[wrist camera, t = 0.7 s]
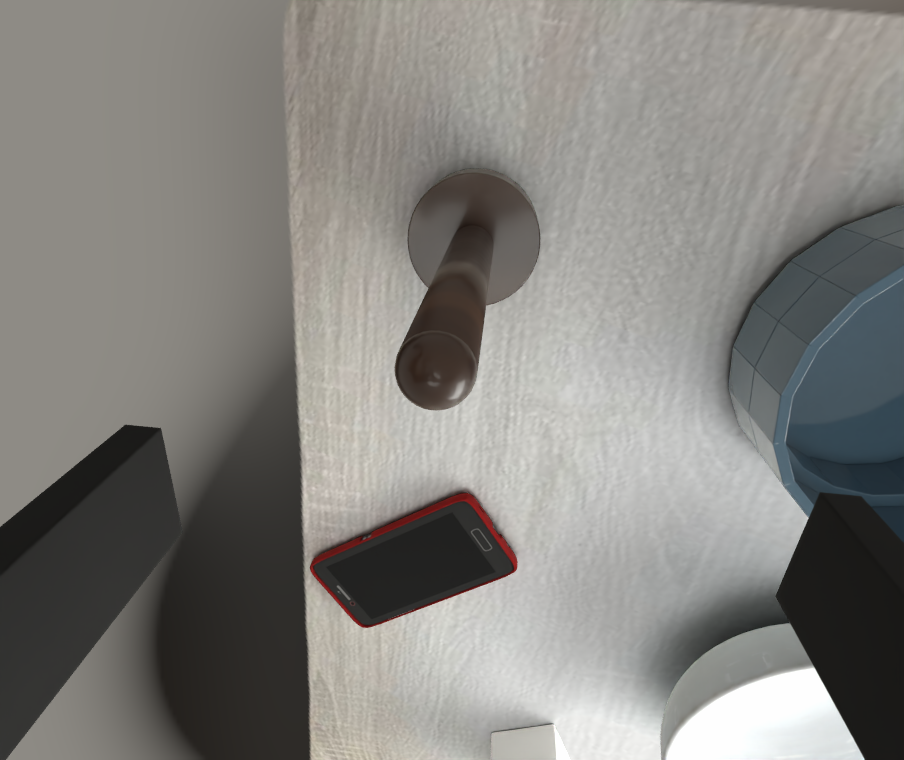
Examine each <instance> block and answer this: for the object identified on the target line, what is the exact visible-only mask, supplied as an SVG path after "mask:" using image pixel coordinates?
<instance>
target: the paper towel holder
mask: <svg viewBox="0 0 904 760" xmlns="http://www.w3.org/2000/svg"><path fill="white" fill-rule="evenodd" d="M408 249H409V254H410V258H411V261H412V264H413V267H414V269H415V271H416V273H417V274H418V276H419V277H420V279H421V280H422V281H423V283H424V284H425V285H426V286H427V287H428V291H427V293H426V295H425V297H424V299H423V301H422V303H421V305H420V307H419V310H418V312H417V314H416V316H415V318H414V320H413V322H412V324H411V326H410V329H409V331H408V333H407V335H406V337H405V339H404V341H403V343H402V345H401V348H400V350H399V352H398V354H397V357H396V363H395V376H396V380H397V384H398V386H399V388H400V390H401V392H402V393H403V394H404V396H405V397H406V398H407V399H408V400H410V401H411V402H412V403H414V404H415V405H417V406H419V407H421V408H424V409H428V410H444V409H448V408H451V407H454V406H455V405H457V404H459V403H460V402H461V401H462V400H464V399H465V398H466V397H467V396H468V394H469V393H470V392H471V390H472V388H473V386H474V384H475V381H476V377H477V371H478V363H479V356H480V348H481V340H482V333H483V325H484V317H485V310H486V305H490V304H494V303H497V302H499V301H501V300H504V299H505V298H507V297H509V296H511V295H512V294H513V293H515V292H516V291H517V290H518V289H519V288H520V287H521V286H522V285H523V284H524V283H525V282H526V280H527V279H528V278H529V276H530V274H531V273H532V271H533V269H534V267H535V264H536V262H537V258H538V255H539V249H540V231H539V225H538V221H537V217H536V213H535V210H534V207H533V205H532V203H531V201H530V199H529V197H528V196H527V194H526V193H525V192H524V190H523V189H522V188H521V187H520V186H519V185H518V184H517V183H516V182H514V181H513V180H512V179H510V178H509V177H507V176H505V175H503V174H501V173H499V172H496V171H493V170H489V169H481V168H472V169H465V170H460V171H457V172H454V173H452V174H450V175H448V176H446V177H445V178H443V179H442V180H440V181H439V182H438V183H437V184H435V185H434V186H433V187H432V188H431V189H430V190H429V191H428V192H427V193H426V194H425V195H424V196H423V197H422V199H421V200H420V201H419V203H418V205H417V206H416V208H415V210H414V212H413V214H412V217H411V221H410V224H409V230H408Z"/></svg>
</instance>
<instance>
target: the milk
mask: <svg viewBox="0 0 904 760" xmlns="http://www.w3.org/2000/svg"><path fill="white" fill-rule="evenodd" d="M491 760H570V758H569V756H568V754H567V752H566V749H565V747H564V745H563V743H562V741H561V738H560V736H559V734H558V732H557V730H556V727H555V725H554V724H551V725H544V726H536V727H529V728H522V729H515V730H508V731H501V732H494V733H492V734H491Z"/></svg>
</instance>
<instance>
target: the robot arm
mask: <svg viewBox="0 0 904 760" xmlns="http://www.w3.org/2000/svg"><path fill="white" fill-rule="evenodd" d="M181 533H182V527H181V522H180V517H179V513H178V508H177V503H176V498H175V493H174V488H173V484H172V479H171V474H170V469H169V465H168V460H167V455H166V450H165V445H164V440H163V436H162V431H161V428H153V427H143V426H133V425H124V426H123V427H122V428H121V429H120V430H118V431H117V432H116V433H115V434H113V435H112V436H111V437H110V438H109V439H107V440H106V441H105V442H104V443H103V444H101V445H100V446H99V447H98V448H96V449H95V450H94V451H93V452H91V453H90V454H89V455H88V456H87V457H85V458H84V459H83V460H82V461H80V462H79V463H78V464H77V465H75V466H74V467H73V468H72V469H71V470H69V471H68V472H67V473H66V474H65V475H63V476H62V477H61V478H60V479H58V480H57V481H56V482H55V483H53V484H52V485H51V486H50V487H49V488H47V489H46V490H45V491H44V492H42V493H41V494H40V495H39V496H38V497H36V498H35V499H34V500H33V501H31V502H30V503H29V504H28V505H27V506H25V507H24V508H23V509H22V510H20V511H19V512H18V513H17V514H16V515H14V516H13V517H12V518H11V519H10V520H8V521H7V522H6V523H5V524H3V525H2V526H1V527H0V760H6V759H7V757H8V756H9V755H10V754H11V752H12V751H13V750H14V748H15V747H16V746H17V745H18V743H19V742H20V741H21V739H22V738H23V737H24V736H25V734H26V733H27V732H28V730H29V729H30V728H31V726H32V725H33V724H34V723H35V721H36V720H37V719H38V718H39V716H40V715H41V714H42V712H43V711H44V710H45V709H46V707H47V706H48V705H49V703H50V702H51V701H52V700H53V698H54V697H55V696H56V694H57V693H58V692H59V691H60V689H61V688H62V687H63V685H64V684H65V683H66V682H67V680H68V679H69V678H70V676H71V675H72V674H73V672H74V671H75V670H76V669H77V667H78V666H79V665H80V663H81V662H82V660H84V658H85V657H86V656H87V654H88V653H89V652H90V651H91V649H92V648H93V647H94V645H95V644H96V643H97V641H98V640H99V639H100V638H101V636H102V635H103V634H104V632H105V631H106V630H107V629H108V627H109V626H110V625H111V623H112V622H113V621H114V620H115V618H116V617H117V616H118V615H119V613H120V612H121V611H122V609H123V608H124V607H125V605H126V604H127V603H128V602H129V600H130V599H131V598H132V596H133V595H134V594H135V593H136V591H137V590H138V589H139V587H140V586H141V585H142V583H143V582H144V581H145V580H146V578H147V577H148V576H149V574H150V573H151V572H152V570H153V569H154V568H155V567H156V565H157V564H158V563H159V562H160V560H161V559H162V558H163V556H164V555H165V554H166V553H167V551H168V550H169V549H170V548H171V546H172V545H173V544H174V542H175V541H176V540H177V538H178V537H179V536H180V535H181ZM775 597H776V599H777V600H778V602H779V604H780V606H781V608H782V609H783V611H784V613H785V615H786V617H787V619H788V620H789V622H790V624H791V626H792V628H793V630H794V631H795V633H796V635H797V637H798V639H799V641H800V642H801V644H802V646H803V648H804V650H805V651H806V653H807V655H808V657H809V659H810V661H811V662H812V664H813V666H814V668H815V670H816V672H817V673H818V675H819V677H820V679H821V681H822V683H823V684H824V686H825V688H826V690H827V692H828V693H829V695H830V697H831V699H832V701H833V703H834V704H835V706H836V708H837V710H838V712H839V714H840V715H841V717H842V719H843V721H844V723H845V725H846V726H847V728H848V730H849V732H850V734H851V735H852V737H853V739H854V741H855V743H856V745H857V746H858V748H859V750H860V752H861V754H862V756H863V757H864V759H865V760H904V542H903V541H902V540H901V539H900V538H899V537H898V536H897V535H896V534H895V533H894V531H893V530H892V529H891V528H890V527H889V526H888V525H887V524H886V523H885V522H884V520H883V519H882V518H881V517H880V516H879V515H878V514H877V513H876V512H875V511H874V510H873V508H872V507H871V506H870V505H869V504H868V503H867V502H866V501H865V500H864V499H863V497H862V496H854V495H844V494H833V493H823V492H820V493H819V495H818V498H817V500H816V502H815V505H814V507H813V509H812V512H811V514H810V516H809V519H808V521H807V523H806V526H805V528H804V530H803V533H802V535H801V537H800V540H799V542H798V544H797V547H796V549H795V551H794V554H793V556H792V558H791V561H790V563H789V565H788V568H787V570H786V572H785V575H784V577H783V579H782V582H781V584H780V586H779V589H778V591H777V593H776V596H775Z"/></svg>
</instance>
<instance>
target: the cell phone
mask: <svg viewBox="0 0 904 760" xmlns="http://www.w3.org/2000/svg"><path fill="white" fill-rule="evenodd" d="M310 570H311V572H312V574H313V575H314V577H315V578H316V579H317V580H318V581H319V583H320V584H321V585H322V586H323V587H324V588H325V589H326V590H327V592H328V593H329V594H330V595H331V596H332V597H333V598H334V599H335V600H336V602H337V603H338V604H339V605H340V606H341V607H342V608H343V609H344V611H345V612H346V613H347V614H348V615H349V616H350V617H351V618H352V620H353V621H354V622H355V623H357V624H358V625H359V626H361V627H364V628H369V627H373V626H376V625H379V624H382V623H384V622H387V621H390V620H392V619H395V618H398V617H400V616H403V615H406V614H408V613H411V612H414V611H416V610H419V609H421V608H424V607H427V606H429V605H432V604H435V603H437V602H440V601H443V600H445V599H448V598H451V597H453V596H456V595H459V594H461V593H464V592H467V591H469V590H472V589H475V588H477V587H480V586H483V585H485V584H488V583H491V582H493V581H496V580H499V579H501V578H504V577H506V576H508V575H510V574H512V573H514V572H515V571H516V570H517V558H516V556H515V554H514V553H513V551H512V549H511V548H510V547H509V546H508V545H507V542H506V541H505V540H504V538H503V537H502V535H498V534H497V532H496V531H495V529H494V528H493V522H492V521H491V520H490V518H489V517H488V515H487V514H486V512H485V511H484V510H483V508H482V507H481V505H480V504H479V503H478V501H477V500H476V499H475V498H474V497H473V496H472V495H471V494H468V493H461V494H458V495H455V496H452V497H450V498H447V499H445V500H443V501H441V502H438V503H436V504H434V505H432V506H429V507H427V508H425V509H423V510H420V511H418V512H416V513H414V514H411V515H409V516H407V517H404V518H402V519H400V520H398V521H395V522H393V523H391V524H389V525H386V526H384V527H382V528H380V529H377V530H375V531H373V532H372V533H370V534H368V535H366V536H361V537H359V538H356V539H354V540H352V541H350V542H347V543H345V544H343V545H341V546H338V547H336V548H334V549H332V550H329V551H327V552H325V553H323V554H321V555H319V556H317V557H316V558H314V559H313V561H312V563H311V565H310ZM413 609H414V610H413ZM411 610H412V611H411ZM408 611H409V612H408ZM405 612H406V613H405ZM403 613H404V614H403ZM400 614H401V615H400ZM397 615H398V616H397ZM395 616H396V617H395ZM392 617H393V618H392Z"/></svg>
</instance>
